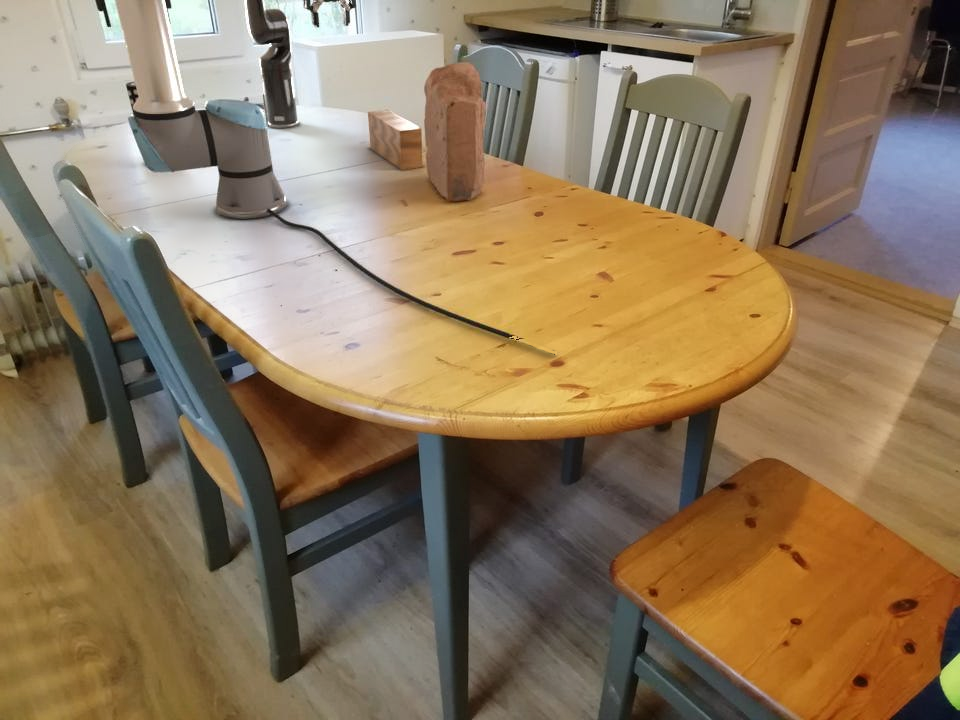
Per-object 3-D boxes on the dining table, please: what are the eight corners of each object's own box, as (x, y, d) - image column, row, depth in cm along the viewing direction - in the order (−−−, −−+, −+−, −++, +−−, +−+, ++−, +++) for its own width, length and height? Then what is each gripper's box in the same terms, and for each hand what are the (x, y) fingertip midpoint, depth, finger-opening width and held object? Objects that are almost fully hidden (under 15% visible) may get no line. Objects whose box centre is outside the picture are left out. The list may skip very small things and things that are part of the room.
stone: (494, 199, 163) (495, 72, 149) (448, 204, 160) (444, 75, 146) (466, 175, 181) (465, 60, 167) (425, 179, 178) (420, 62, 164)
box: (422, 166, 186) (421, 128, 180) (402, 170, 183) (400, 130, 178) (389, 145, 202) (387, 109, 197) (370, 148, 200) (367, 111, 194)
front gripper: (169, -76, 167) (189, 20, 179) (54, -77, 157) (82, 25, 168) (175, -76, 162) (194, 23, 173) (55, -77, 151) (84, 29, 163)
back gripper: (346, -43, 188) (350, 23, 197) (295, -43, 181) (302, 25, 190) (357, -40, 182) (360, 27, 191) (305, -40, 176) (311, 29, 185)
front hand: (139, 25), depth 171 cm, fingers open, 13 cm apart
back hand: (331, 26), depth 191 cm, fingers open, 8 cm apart
